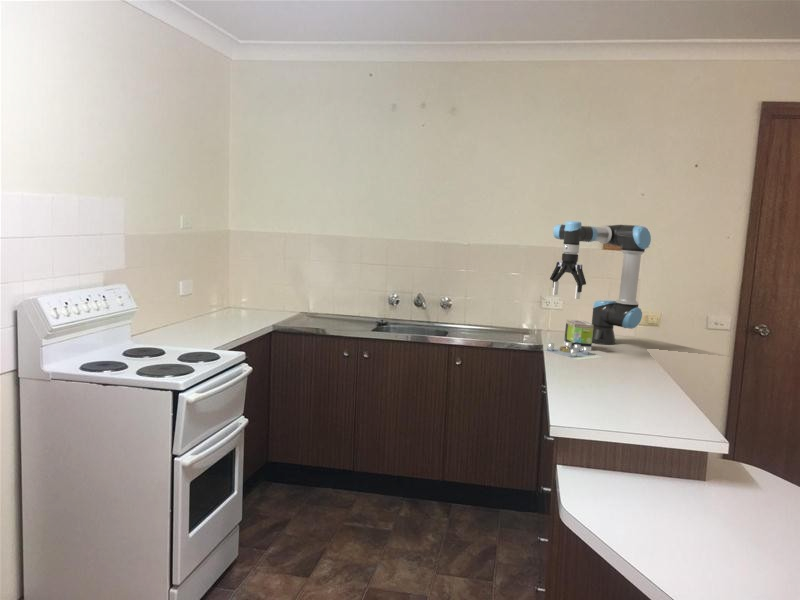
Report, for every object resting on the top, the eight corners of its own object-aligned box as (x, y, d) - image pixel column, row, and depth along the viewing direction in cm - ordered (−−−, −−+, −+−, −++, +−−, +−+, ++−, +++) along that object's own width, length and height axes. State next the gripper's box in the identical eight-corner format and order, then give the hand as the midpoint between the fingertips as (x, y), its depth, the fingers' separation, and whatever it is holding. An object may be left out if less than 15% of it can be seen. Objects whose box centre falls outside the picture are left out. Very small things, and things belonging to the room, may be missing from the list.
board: (567, 350, 337) (567, 347, 337) (603, 359, 320) (603, 356, 320) (542, 352, 327) (543, 350, 327) (578, 362, 309) (579, 359, 309)
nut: (563, 350, 330) (564, 346, 330) (571, 352, 326) (572, 348, 326) (557, 350, 328) (558, 346, 328) (565, 352, 324) (566, 348, 323)
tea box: (591, 353, 334) (594, 324, 332) (571, 352, 333) (574, 323, 331) (582, 347, 348) (584, 319, 347) (563, 346, 348) (565, 318, 346)
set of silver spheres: (566, 348, 336) (566, 341, 336) (593, 355, 322) (594, 348, 322) (545, 350, 327) (546, 343, 327) (573, 357, 313) (574, 350, 313)
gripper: (545, 251, 329) (541, 293, 332) (586, 255, 309) (581, 300, 312) (555, 251, 334) (551, 293, 336) (596, 255, 314) (591, 300, 316)
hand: (566, 297), depth 324 cm, fingers open, 13 cm apart
